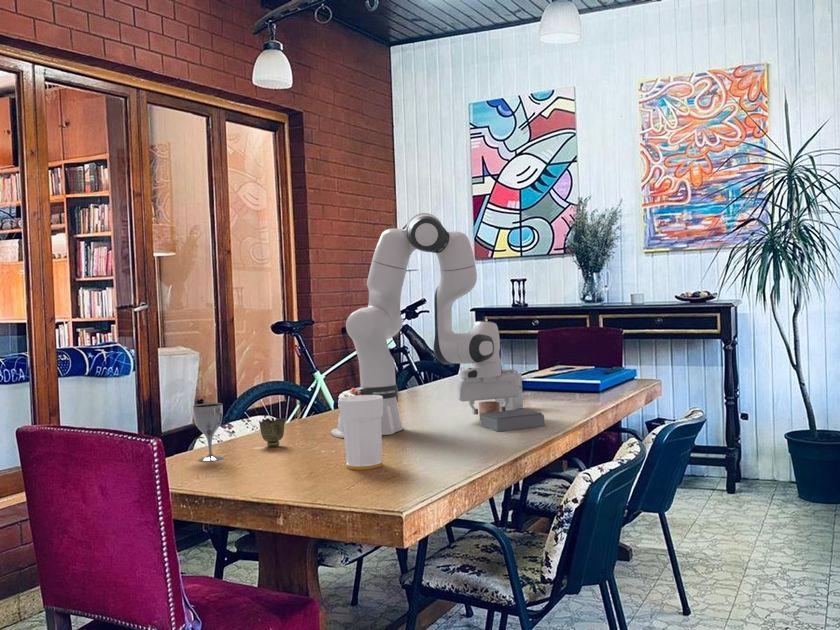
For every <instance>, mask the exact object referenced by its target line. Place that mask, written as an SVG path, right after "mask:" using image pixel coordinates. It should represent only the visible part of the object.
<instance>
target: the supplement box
mask: <svg viewBox="0 0 840 630" xmlns="http://www.w3.org/2000/svg"><path fill="white" fill-rule="evenodd" d="M517 372H518V371H517ZM508 373H510V372H508ZM518 374H519V380H518V384H519V391H520V394H519V396H518V397H515V398H509V403H508V405H507V407H506V411H507V410H516V409H524V408H523V407H524V406H523V405H524V404H523V403H524V402H523V401H524V400H523V382H522V381H523V379H522V378H523V377H522V372H520V371H519V372H518ZM494 401H496V402H499V404H500V407H501V406H503V405H504V402H505V401H503V398H502V399H494ZM500 411H501V408H500Z"/></svg>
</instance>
